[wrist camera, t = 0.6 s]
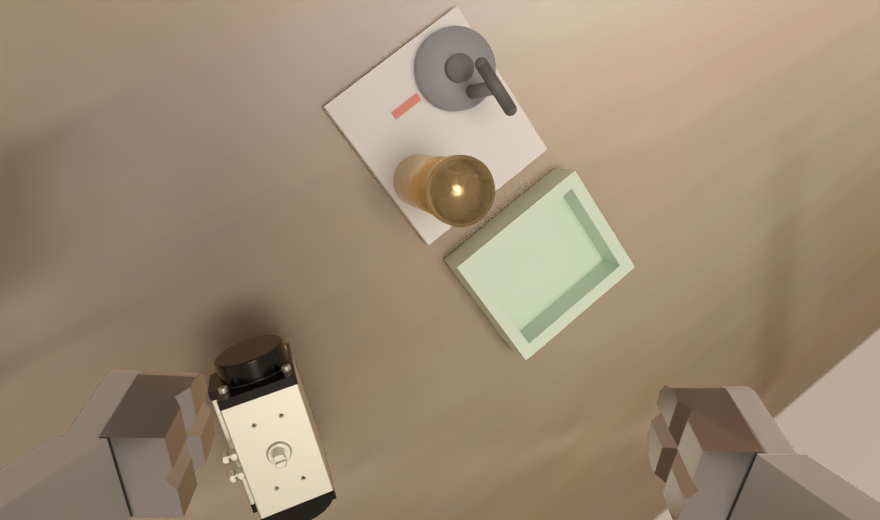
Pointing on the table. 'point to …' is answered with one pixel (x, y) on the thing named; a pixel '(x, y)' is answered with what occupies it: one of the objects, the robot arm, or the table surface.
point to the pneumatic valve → (270, 430)
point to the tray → (540, 261)
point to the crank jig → (436, 112)
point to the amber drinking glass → (446, 187)
